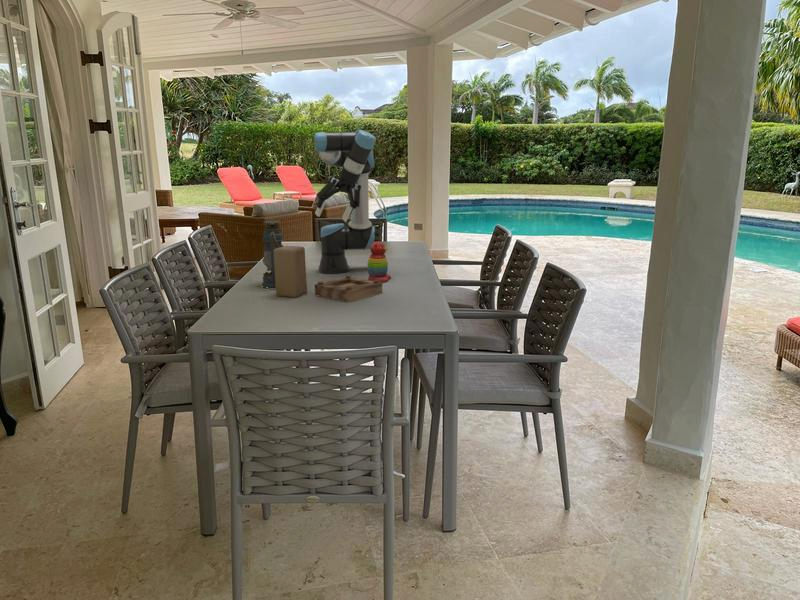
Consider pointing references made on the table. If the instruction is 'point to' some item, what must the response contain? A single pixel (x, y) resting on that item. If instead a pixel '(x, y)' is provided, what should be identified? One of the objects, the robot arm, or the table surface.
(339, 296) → the base plate
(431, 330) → the table surface
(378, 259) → the stacking bear
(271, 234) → the lantern
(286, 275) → the wooden block
